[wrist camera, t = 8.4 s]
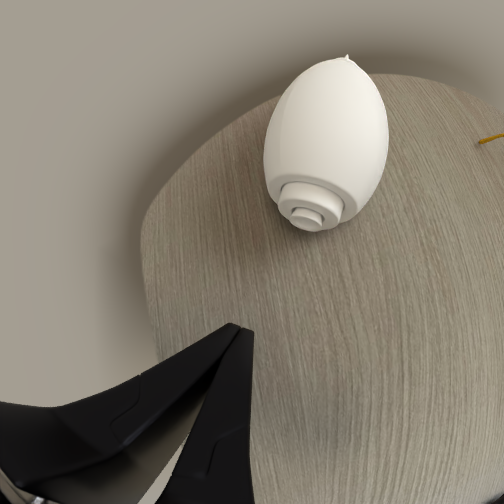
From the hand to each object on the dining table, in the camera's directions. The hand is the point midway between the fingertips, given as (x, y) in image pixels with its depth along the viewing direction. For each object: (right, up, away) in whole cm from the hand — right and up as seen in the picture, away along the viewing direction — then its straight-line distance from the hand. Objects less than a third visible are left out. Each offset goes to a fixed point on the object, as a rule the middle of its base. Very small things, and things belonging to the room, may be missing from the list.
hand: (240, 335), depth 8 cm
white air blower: (+3, +4, +6) cm, 8 cm away
